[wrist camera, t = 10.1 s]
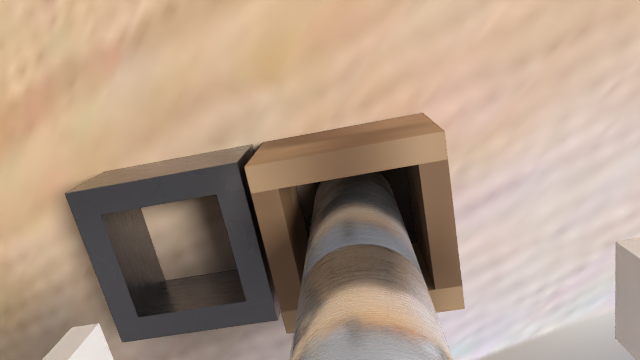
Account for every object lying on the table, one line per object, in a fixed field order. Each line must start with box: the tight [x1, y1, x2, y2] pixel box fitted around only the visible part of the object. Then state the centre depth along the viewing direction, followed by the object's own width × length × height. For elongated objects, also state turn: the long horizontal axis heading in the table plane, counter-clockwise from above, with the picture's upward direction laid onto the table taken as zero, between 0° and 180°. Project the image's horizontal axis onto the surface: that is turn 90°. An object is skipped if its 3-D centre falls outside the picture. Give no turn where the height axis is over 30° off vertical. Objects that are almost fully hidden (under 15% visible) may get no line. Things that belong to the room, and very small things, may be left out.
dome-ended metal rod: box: [289, 172, 453, 360], centre depth 14 cm, size 4×4×13 cm
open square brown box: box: [244, 113, 465, 333], centre depth 18 cm, size 7×7×4 cm
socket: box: [65, 145, 280, 342], centre depth 19 cm, size 7×7×3 cm
